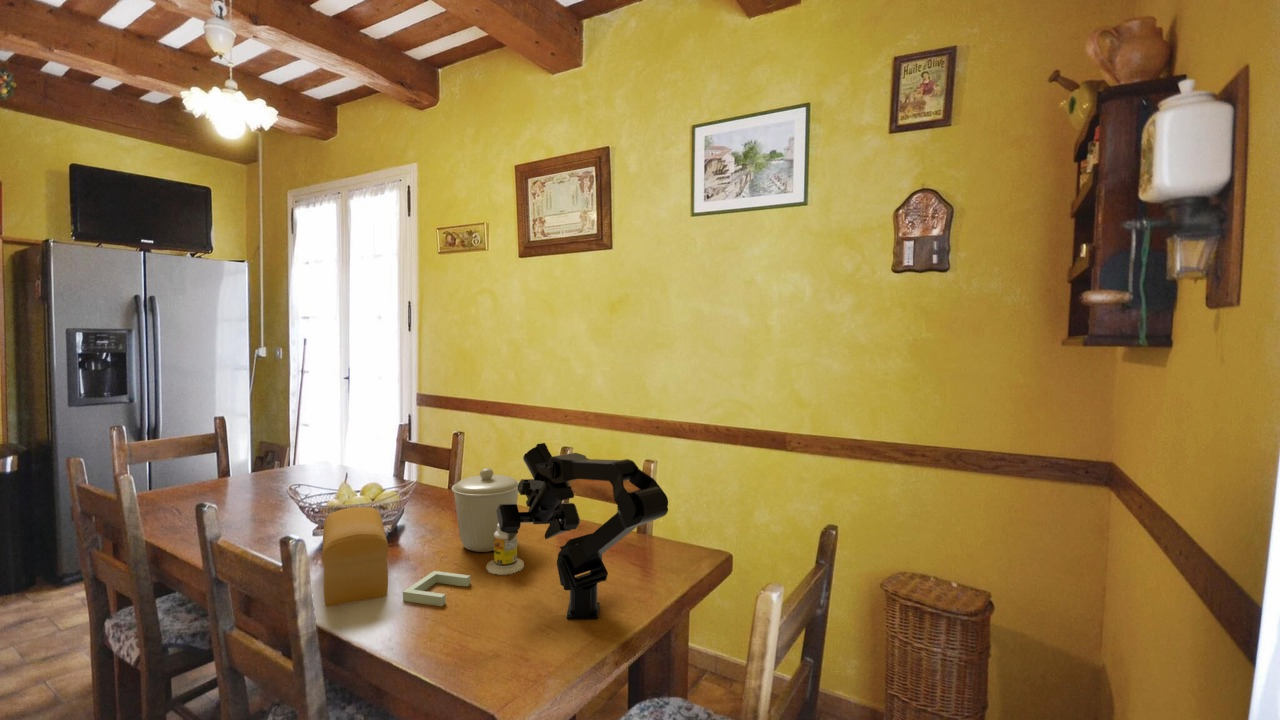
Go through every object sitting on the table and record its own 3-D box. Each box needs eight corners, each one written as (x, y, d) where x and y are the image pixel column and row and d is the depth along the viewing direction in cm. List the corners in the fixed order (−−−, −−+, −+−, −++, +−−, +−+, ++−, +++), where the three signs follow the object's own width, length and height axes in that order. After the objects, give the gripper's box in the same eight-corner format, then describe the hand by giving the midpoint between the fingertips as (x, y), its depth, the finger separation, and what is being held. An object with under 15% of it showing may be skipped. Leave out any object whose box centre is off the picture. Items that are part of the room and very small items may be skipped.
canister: (533, 547, 161) (532, 470, 160) (468, 563, 150) (467, 480, 149) (503, 529, 175) (502, 458, 174) (442, 543, 164) (441, 466, 163)
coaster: (520, 575, 143) (520, 571, 143) (482, 575, 143) (482, 571, 143) (526, 560, 152) (526, 557, 152) (491, 560, 152) (491, 557, 152)
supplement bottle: (491, 562, 149) (491, 522, 148) (513, 558, 151) (513, 518, 151) (497, 570, 144) (497, 529, 143) (520, 566, 147) (520, 525, 146)
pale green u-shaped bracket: (470, 584, 138) (470, 575, 138) (441, 606, 127) (441, 597, 127) (434, 579, 141) (434, 570, 141) (402, 600, 130) (402, 591, 130)
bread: (389, 596, 132) (388, 529, 131) (323, 608, 126) (321, 538, 125) (381, 558, 154) (380, 500, 153) (324, 566, 148) (323, 506, 147)
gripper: (578, 469, 144) (555, 509, 152) (502, 467, 134) (483, 510, 142) (591, 507, 136) (566, 547, 144) (512, 508, 126) (490, 552, 134)
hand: (527, 538), depth 141 cm, fingers open, 9 cm apart
